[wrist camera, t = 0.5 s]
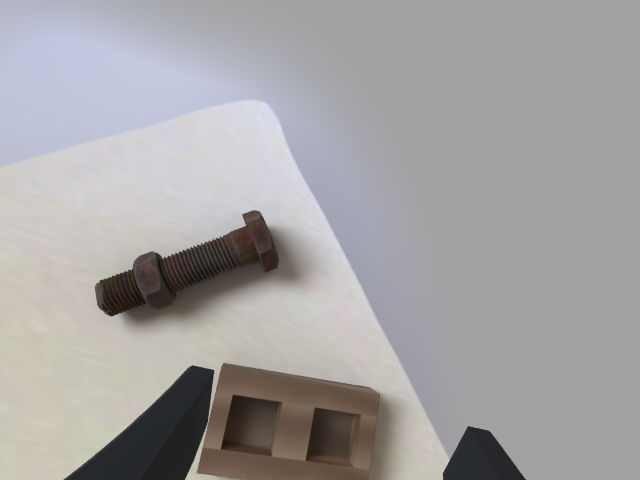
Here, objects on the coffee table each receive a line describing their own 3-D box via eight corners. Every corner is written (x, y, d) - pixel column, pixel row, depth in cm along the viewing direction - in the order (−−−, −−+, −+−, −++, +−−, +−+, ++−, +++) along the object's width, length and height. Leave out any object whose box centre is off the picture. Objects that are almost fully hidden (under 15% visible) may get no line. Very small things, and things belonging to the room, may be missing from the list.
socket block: (356, 478, 34) (366, 494, 31) (201, 458, 32) (196, 473, 29) (369, 387, 36) (379, 394, 33) (223, 363, 34) (221, 367, 31)
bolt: (116, 293, 35) (266, 237, 38) (121, 339, 32) (283, 274, 35) (81, 258, 30) (254, 197, 34) (83, 308, 28) (273, 236, 31)
